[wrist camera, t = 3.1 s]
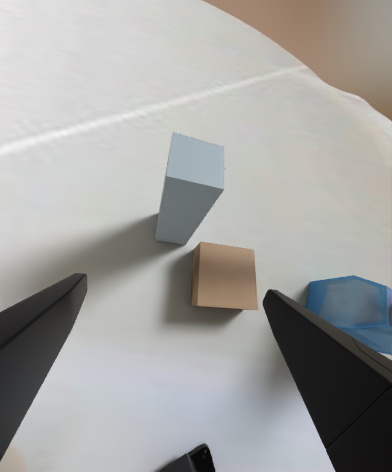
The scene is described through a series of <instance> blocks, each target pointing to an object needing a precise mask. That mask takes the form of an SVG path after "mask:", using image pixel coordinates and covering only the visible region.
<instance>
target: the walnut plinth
mask: <svg viewBox="0 0 392 472" xmlns="http://www.w3.org/2000/svg"><path fill="white" fill-rule="evenodd" d="M190 306H200V307H215V308H230V309H245V310H258V304H257V289H256V274H255V259H254V250H252V249H245V248H239V247H232V246H226V245H219V244H212V243H206V242H200V243H199V244H198V245H197V246H196V247H195V249H194V258H193V273H192V289H191V304H190Z"/></svg>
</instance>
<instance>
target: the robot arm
mask: <svg viewBox="0 0 392 472" xmlns="http://www.w3.org/2000/svg"><path fill="white" fill-rule="evenodd" d="M86 293H87V275H86V274H82V273H75V274H73V275H71V276H69V277H67V278H65V279H63V280H61V281H59V282H57V283H55V284H54V285H52V286H50V287H48V288H46V289H44V290H42V291H40V292H38V293H36V294H34V295H32V296H30V297H28V298H27V299H25V300H23V301H21V302H19V303H17V304H15V305H13V306H11V307H9V308H7V309H5V310H3V311H1V312H0V461H1V459H2V457H3V456H4V454H5V452H6V450H7V448H8V446H9V444H10V443H11V441H12V439H13V437H14V435H15V433H16V432H17V430H18V428H19V426H20V424H21V422H22V420H23V419H24V417H25V415H26V413H27V411H28V409H29V407H30V406H31V404H32V402H33V400H34V398H35V396H36V395H37V393H38V391H39V389H40V387H41V385H42V383H43V382H44V380H45V378H46V376H47V374H48V372H49V371H50V369H51V367H52V365H53V363H54V361H55V359H56V358H57V356H58V354H59V352H60V350H61V348H62V347H63V345H64V343H65V341H66V339H67V337H68V335H69V334H70V332H71V330H72V328H73V325H74V323H75V320H76V318H77V316H78V313H79V311H80V308H81V306H82V303H83V301H84V298H85V296H86ZM263 307H264V310H265V313H266V315H267V318H268V321H269V324H270V327H271V329H272V332H273V335H274V337H275V339H276V341H277V343H278V346H279V348H280V350H281V352H282V354H283V357H284V359H285V361H286V363H287V365H288V368H289V370H290V372H291V374H292V376H293V379H294V381H295V383H296V385H297V388H298V390H299V392H300V394H301V396H302V399H303V401H304V403H305V405H306V407H307V410H308V412H309V414H310V416H311V418H312V421H313V423H314V425H315V427H316V429H317V432H318V434H319V436H320V438H321V440H322V443H323V445H324V447H325V449H326V452H327V454H328V456H329V458H330V461H331V463H332V465H333V467H334V469H335V472H392V360H390V359H388V358H387V357H385V356H383V355H382V354H380V353H378V352H376V351H375V350H373V349H371V348H370V347H368V346H366V345H365V344H363V343H362V342H360V341H358V340H357V339H355V338H353V337H352V336H349V335H348V334H347V333H345V332H344V331H342V330H340V329H339V328H337V327H336V326H334V325H332V324H331V323H329V322H328V321H326V320H324V319H323V318H321V317H319V316H318V315H316V314H315V313H313V312H311V311H310V310H308V309H307V308H305V307H303V306H302V305H300V304H298V303H297V302H295V301H294V300H292V299H290V298H289V297H287V296H286V295H284V294H282V293H281V292H279V291H277V290H273V289H269V290H268V291H267V293H266V295H265V297H264V300H263ZM204 450H206V453H205V454H204V455H203V454H202V453H203V451H204ZM160 472H215V468H214V464H213V461H212V457H211V453H210V450H209V448H208V445H207V444H202V445H200V446H199V447H197V448H196V449H194V450H193V451H191V452H190V453H188V454H184V455H183V456H181V457H180V458H178V459H177V460H175V461H174V462H173V463H171V464H170V465H168V466H167V467H165V468H164V469H162V470H161V471H160Z"/></svg>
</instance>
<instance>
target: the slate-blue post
mask: <svg viewBox="0 0 392 472" xmlns="http://www.w3.org/2000/svg"><path fill="white" fill-rule="evenodd" d="M223 190H224V147H223V146H220V145H216V144H213V143H209V142H206V141H202V140H199V139H195V138H192V137H188V136H185V135H181V134H178V133H174V132H173V134H172V140H171V146H170V152H169V157H168V163H167V169H166V175H165V180H164V186H163V192H162V198H161V203H160V209H159V215H158V221H157V228H156V234H155V240H156V241H163V242H169V243H176V244H183V245H186V243H187V242H188V240H189V239H190V237H191V236H192V235H193V233H194V232H195V230H196V229H197V227H198V226H199V225H200V223H201V222H202V220H203V219H204V217H205V216H206V214H207V213H208V212H209V210H210V209H211V207H212V206H213V204H214V203H215V201H216V200H217V199H218V197H219V196H220V194H221V193H222V191H223Z"/></svg>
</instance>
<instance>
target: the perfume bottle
mask: <svg viewBox="0 0 392 472" xmlns="http://www.w3.org/2000/svg"><path fill="white" fill-rule="evenodd" d="M306 308H307V309H308V310H310V311H311V312H313V313H315V314H316V315H318V316H319V317H321V318H323V319H324V320H326V321H328V322H329V323H331V324H332V325H334V326H336V327H337V328H339V329H340V330H342V331H344V332H345V333H347V334H348V335H349V336H352V337H353V338H355V339H357V340H358V341H360V342H362V343H363V344H365V345H366V346H368V347H370V348H371V349H373V350H375V351H376V352H380V353H385V354H390V355H392V289H390V288H389V287H387V286H384V285H381V284H378V283H375V282H372V281H369V280H366V279H363V278H360V277H357V276H347V277H340V278H333V279H326V280H320V281H313V282H310V287H309V292H308V298H307V304H306Z"/></svg>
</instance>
